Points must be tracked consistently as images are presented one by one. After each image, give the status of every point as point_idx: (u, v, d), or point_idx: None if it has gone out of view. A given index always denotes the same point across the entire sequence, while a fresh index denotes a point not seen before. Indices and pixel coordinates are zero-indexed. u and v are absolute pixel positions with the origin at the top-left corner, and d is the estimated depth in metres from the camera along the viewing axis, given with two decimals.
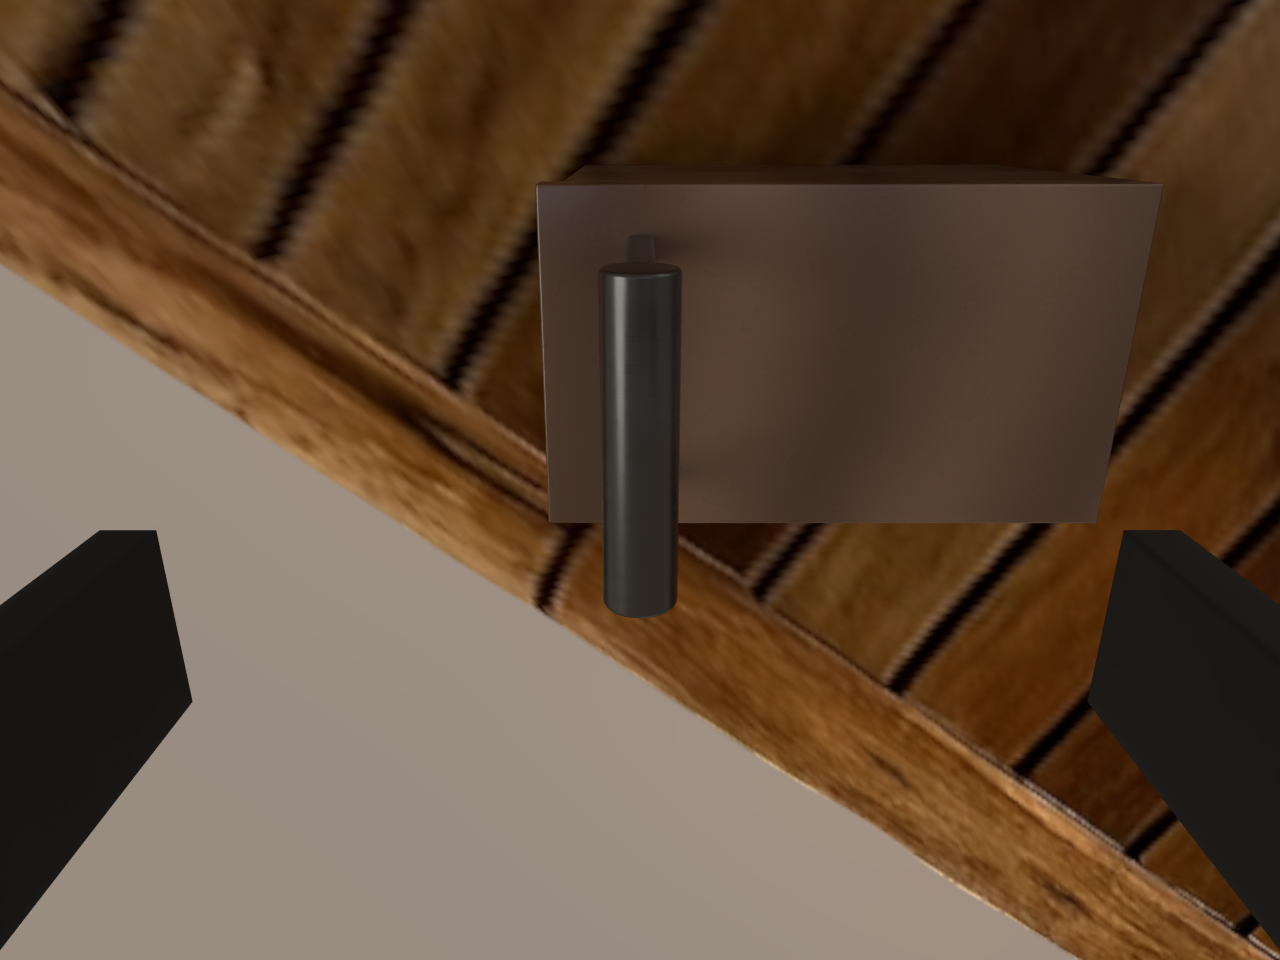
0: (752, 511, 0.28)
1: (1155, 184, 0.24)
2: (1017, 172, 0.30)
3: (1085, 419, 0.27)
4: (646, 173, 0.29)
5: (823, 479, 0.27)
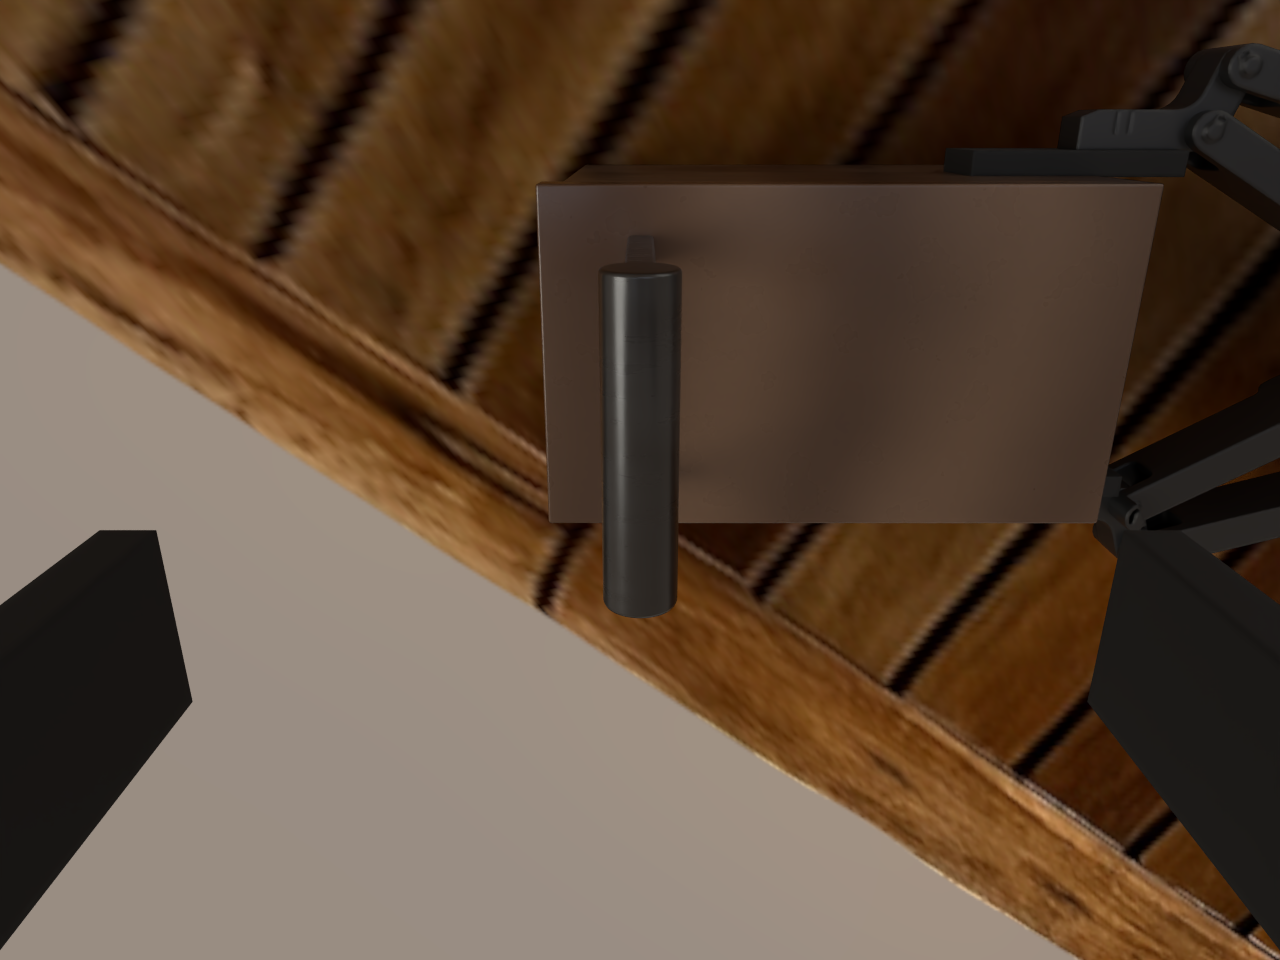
0: (753, 511, 0.28)
1: (1155, 184, 0.24)
2: None
3: (1085, 419, 0.26)
4: (646, 173, 0.29)
5: (823, 479, 0.27)
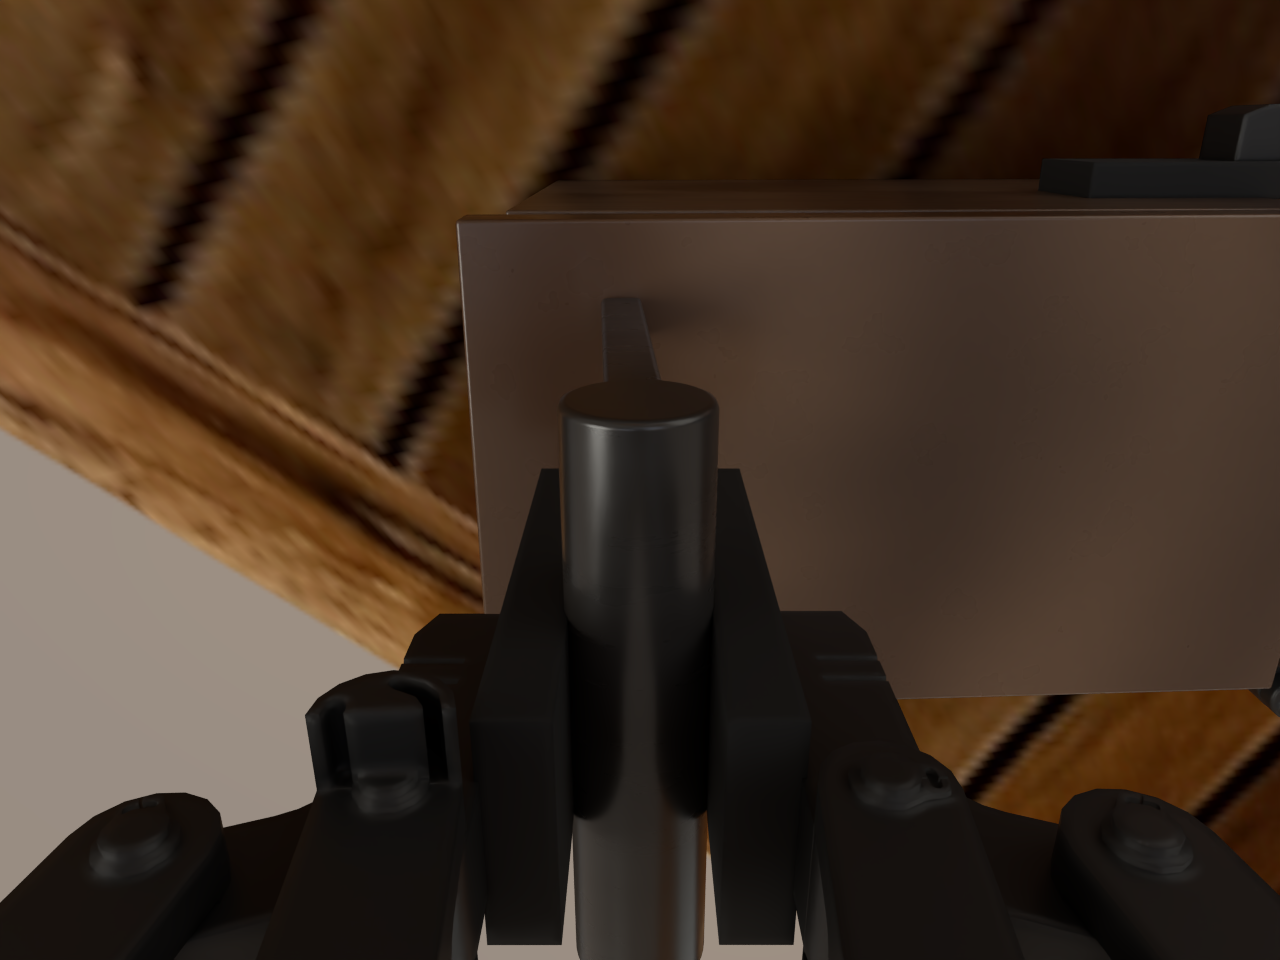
0: None
1: None
2: None
3: (1266, 550, 0.18)
4: (632, 194, 0.21)
5: (890, 640, 0.19)
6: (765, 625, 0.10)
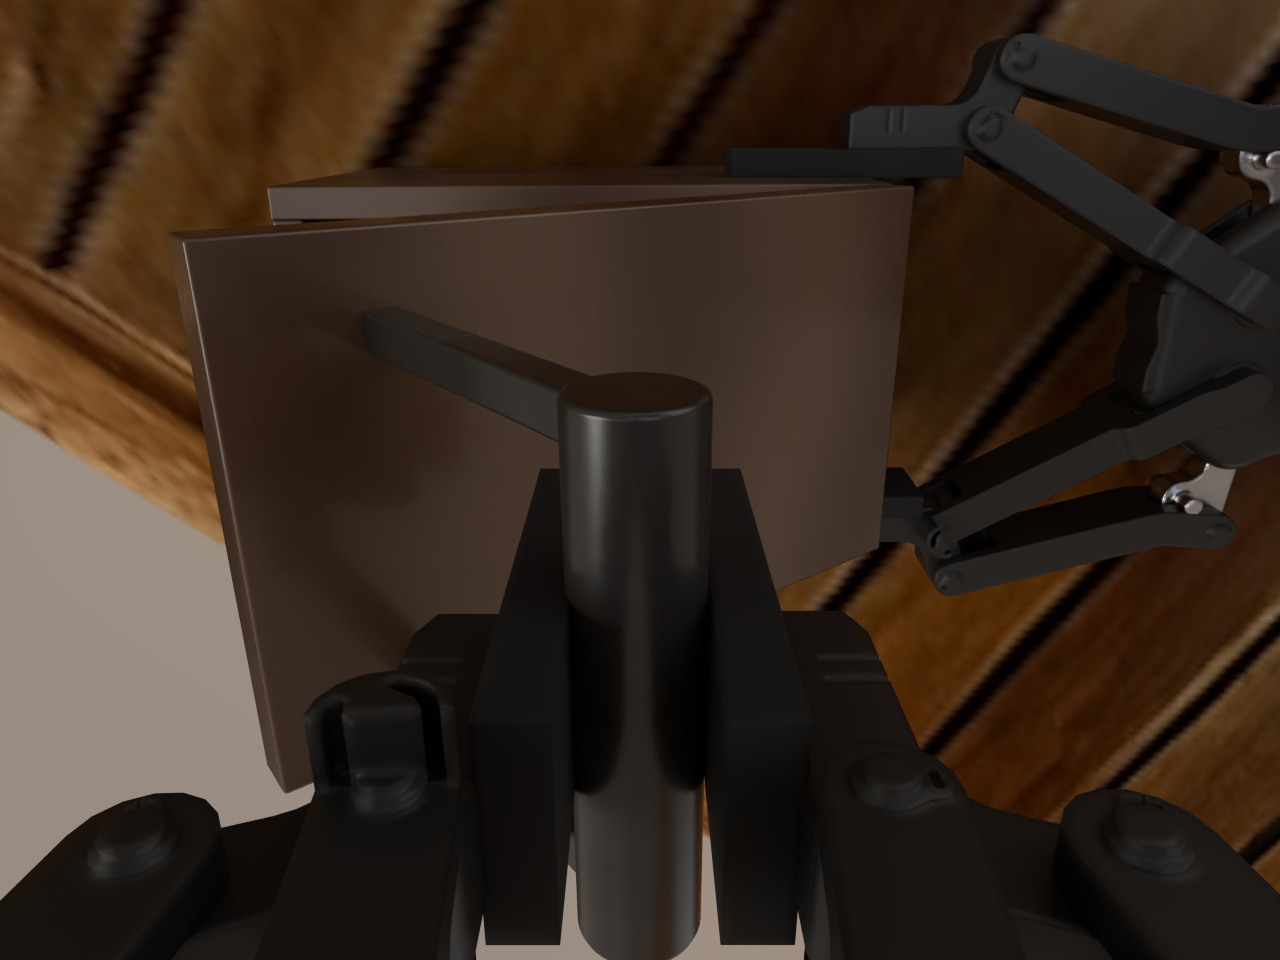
0: None
1: (908, 187, 0.22)
2: None
3: (867, 445, 0.24)
4: (399, 176, 0.27)
5: None
6: (766, 625, 0.10)
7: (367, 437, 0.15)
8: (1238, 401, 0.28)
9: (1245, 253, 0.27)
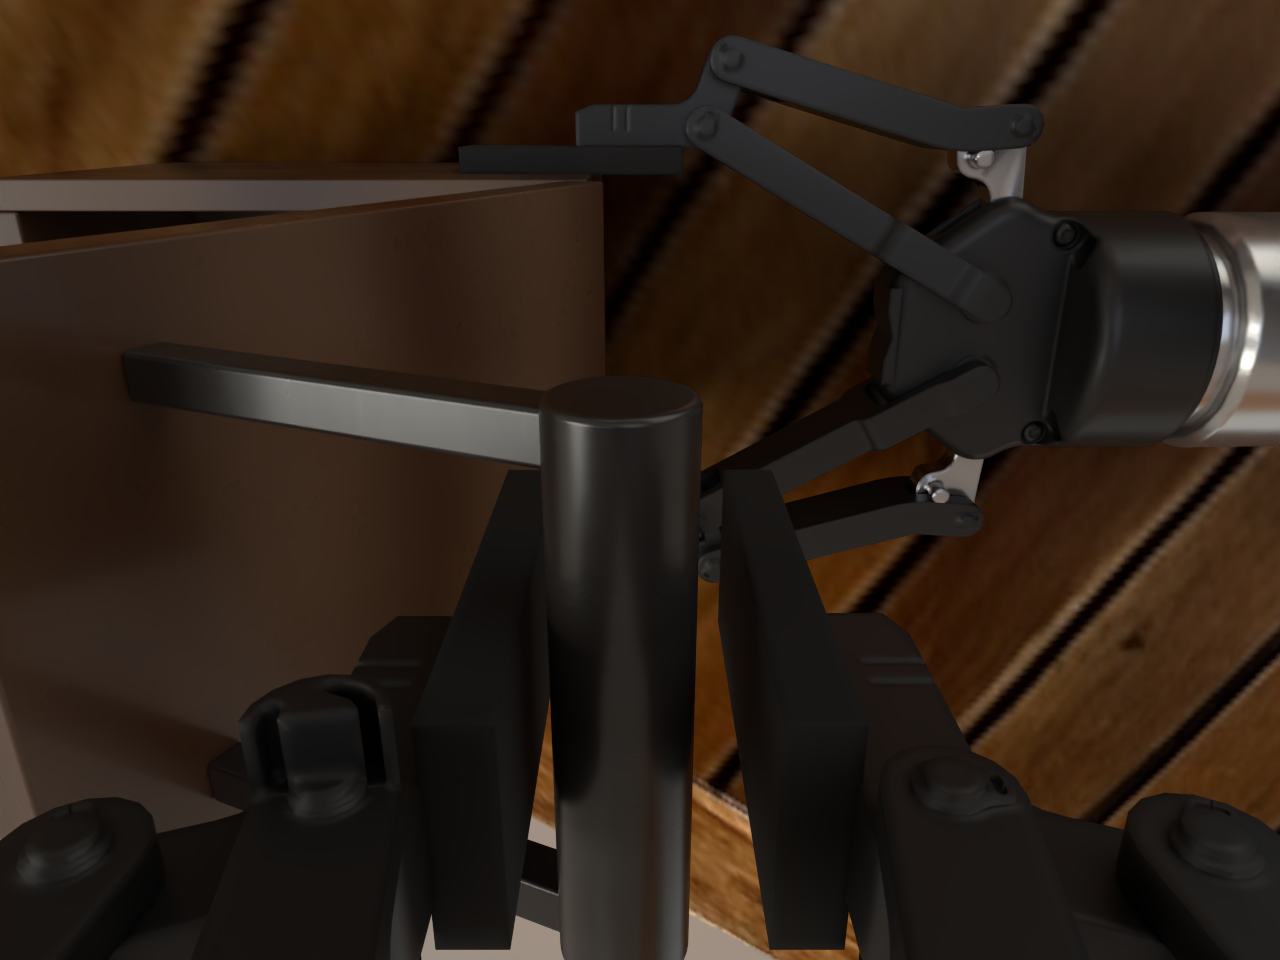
0: None
1: (599, 182, 0.23)
2: None
3: None
4: (147, 171, 0.28)
5: None
6: (813, 628, 0.10)
7: (143, 508, 0.12)
8: (965, 392, 0.28)
9: (965, 249, 0.28)
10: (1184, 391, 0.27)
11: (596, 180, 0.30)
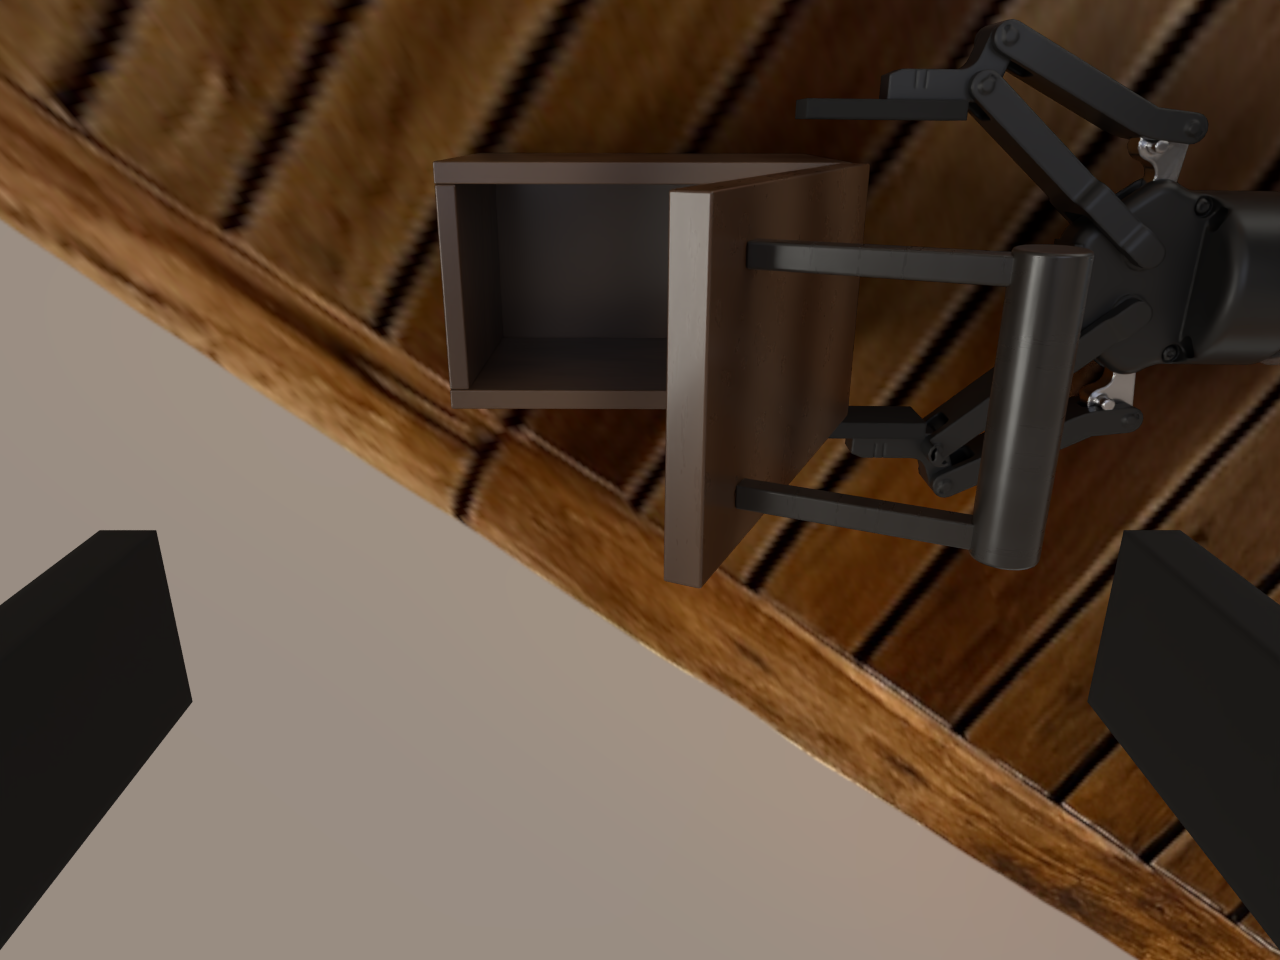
0: None
1: (868, 164, 0.34)
2: None
3: (849, 340, 0.36)
4: (508, 157, 0.39)
5: (793, 442, 0.30)
6: None
7: (741, 327, 0.23)
8: (1127, 322, 0.39)
9: None
10: None
11: None
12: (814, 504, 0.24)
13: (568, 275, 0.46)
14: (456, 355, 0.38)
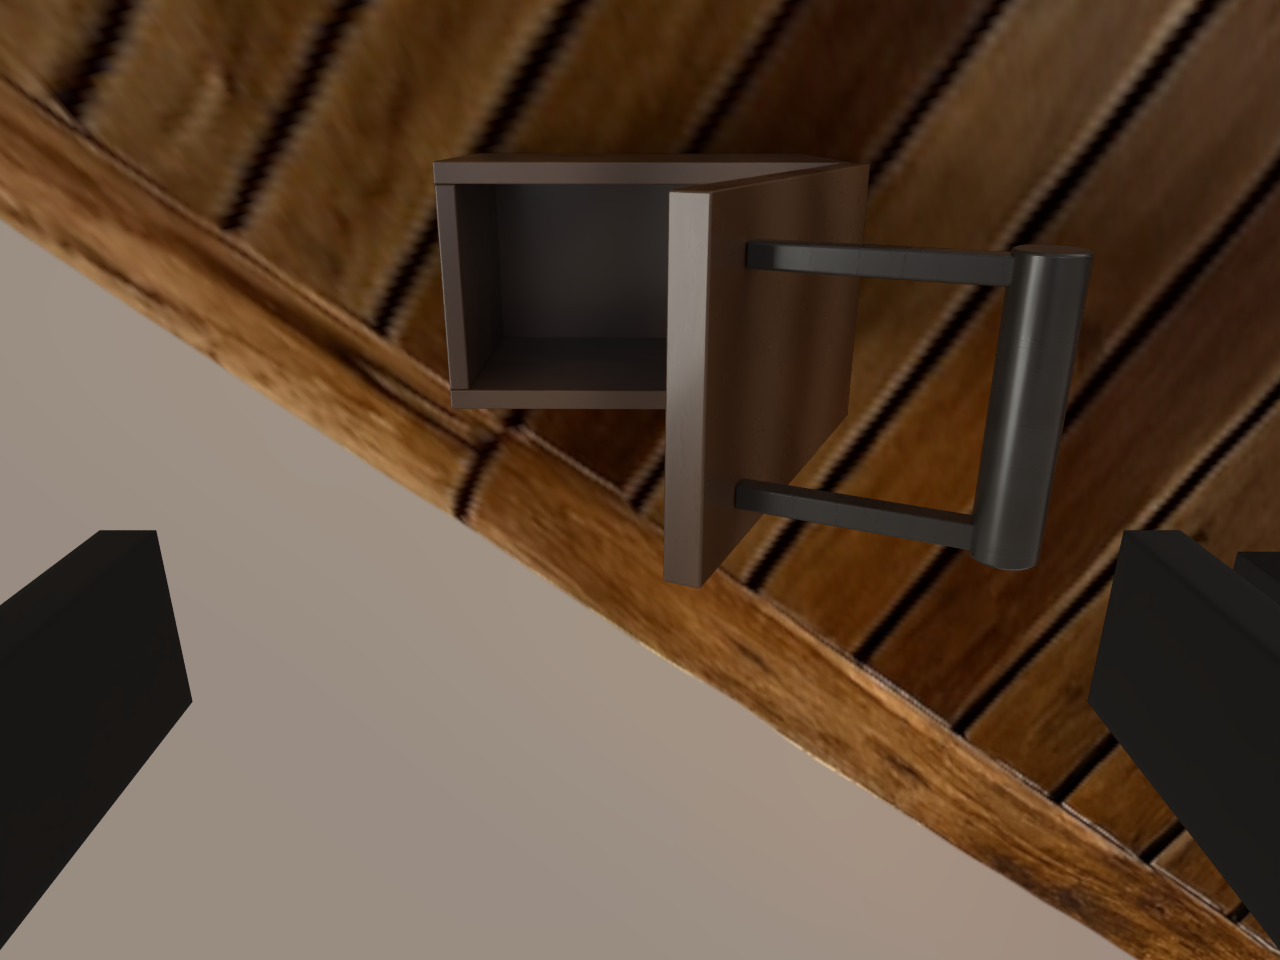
0: None
1: (868, 164, 0.34)
2: None
3: (849, 341, 0.36)
4: (508, 157, 0.39)
5: (792, 442, 0.30)
6: None
7: (740, 328, 0.23)
8: None
9: None
10: None
11: None
12: (813, 504, 0.24)
13: (568, 275, 0.46)
14: (456, 355, 0.38)
